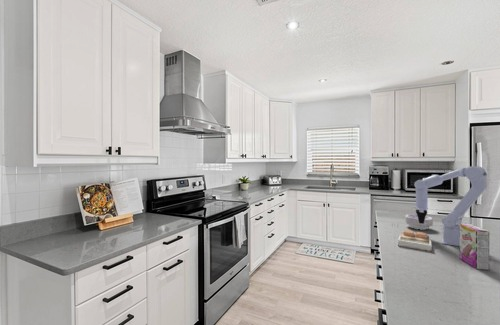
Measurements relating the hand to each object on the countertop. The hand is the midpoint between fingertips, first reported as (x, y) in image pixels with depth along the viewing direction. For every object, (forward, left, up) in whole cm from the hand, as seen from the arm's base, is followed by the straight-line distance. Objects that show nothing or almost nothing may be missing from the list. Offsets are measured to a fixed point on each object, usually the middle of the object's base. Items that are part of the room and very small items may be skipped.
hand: (421, 222), depth 144 cm
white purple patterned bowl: (+2, -22, -9) cm, 24 cm away
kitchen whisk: (-19, -30, -9) cm, 36 cm away
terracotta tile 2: (+6, +9, -6) cm, 12 cm away
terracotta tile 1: (0, +9, -6) cm, 11 cm away
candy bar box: (-18, +35, -9) cm, 41 cm away
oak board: (+3, +10, -8) cm, 13 cm away
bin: (+3, +21, -8) cm, 23 cm away
